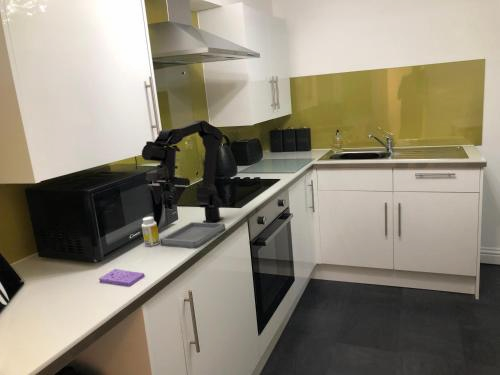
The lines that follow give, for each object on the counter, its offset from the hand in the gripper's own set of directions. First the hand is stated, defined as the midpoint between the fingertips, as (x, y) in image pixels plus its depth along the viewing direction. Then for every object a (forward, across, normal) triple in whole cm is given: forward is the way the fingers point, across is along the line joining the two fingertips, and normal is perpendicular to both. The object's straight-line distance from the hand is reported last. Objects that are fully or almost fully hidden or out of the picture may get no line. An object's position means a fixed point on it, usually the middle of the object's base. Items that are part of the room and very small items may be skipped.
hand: (165, 204), depth 154 cm
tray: (+12, +6, +9) cm, 17 cm away
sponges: (+23, +10, -26) cm, 36 cm away
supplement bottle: (+15, -6, 0) cm, 16 cm away
